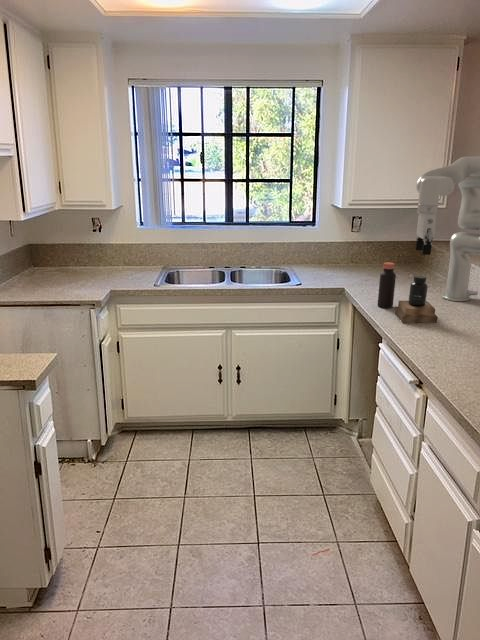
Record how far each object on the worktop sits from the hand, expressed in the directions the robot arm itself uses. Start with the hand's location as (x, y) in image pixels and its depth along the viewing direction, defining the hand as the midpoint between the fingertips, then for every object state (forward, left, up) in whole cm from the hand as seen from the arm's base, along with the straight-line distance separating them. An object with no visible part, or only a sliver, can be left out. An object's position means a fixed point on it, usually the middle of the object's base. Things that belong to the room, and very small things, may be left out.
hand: (422, 252), depth 212 cm
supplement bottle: (0, 0, -22) cm, 22 cm away
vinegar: (+9, -17, -28) cm, 34 cm away
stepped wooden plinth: (0, 0, -28) cm, 28 cm away
